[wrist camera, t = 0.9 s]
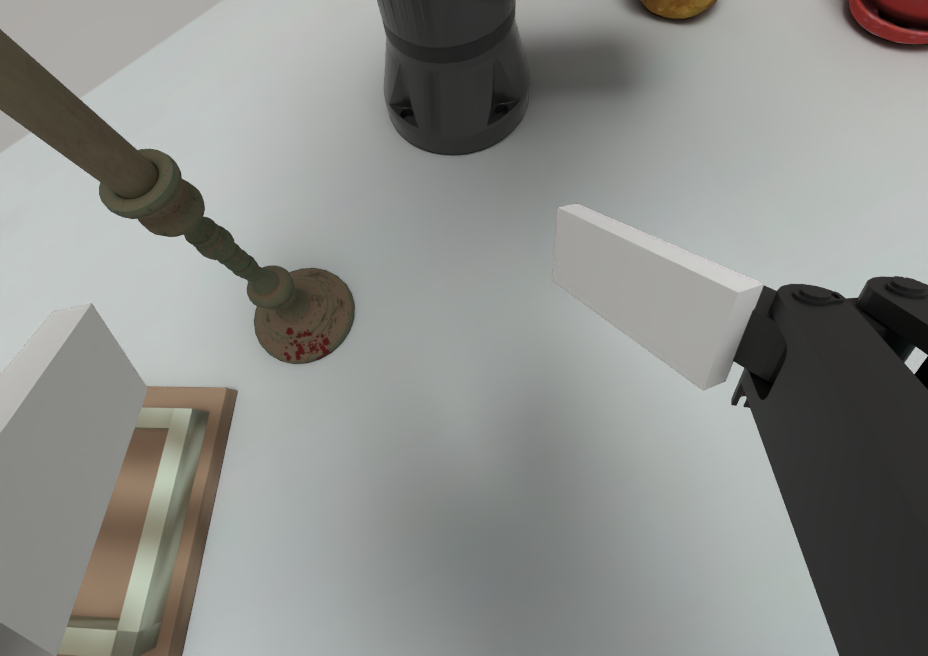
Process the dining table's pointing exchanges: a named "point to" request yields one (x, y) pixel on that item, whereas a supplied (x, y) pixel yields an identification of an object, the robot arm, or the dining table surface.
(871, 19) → the plant pot
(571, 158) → the dining table surface
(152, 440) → the railed board
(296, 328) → the candlestick holder
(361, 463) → the dining table surface
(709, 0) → the potato
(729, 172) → the dining table surface
